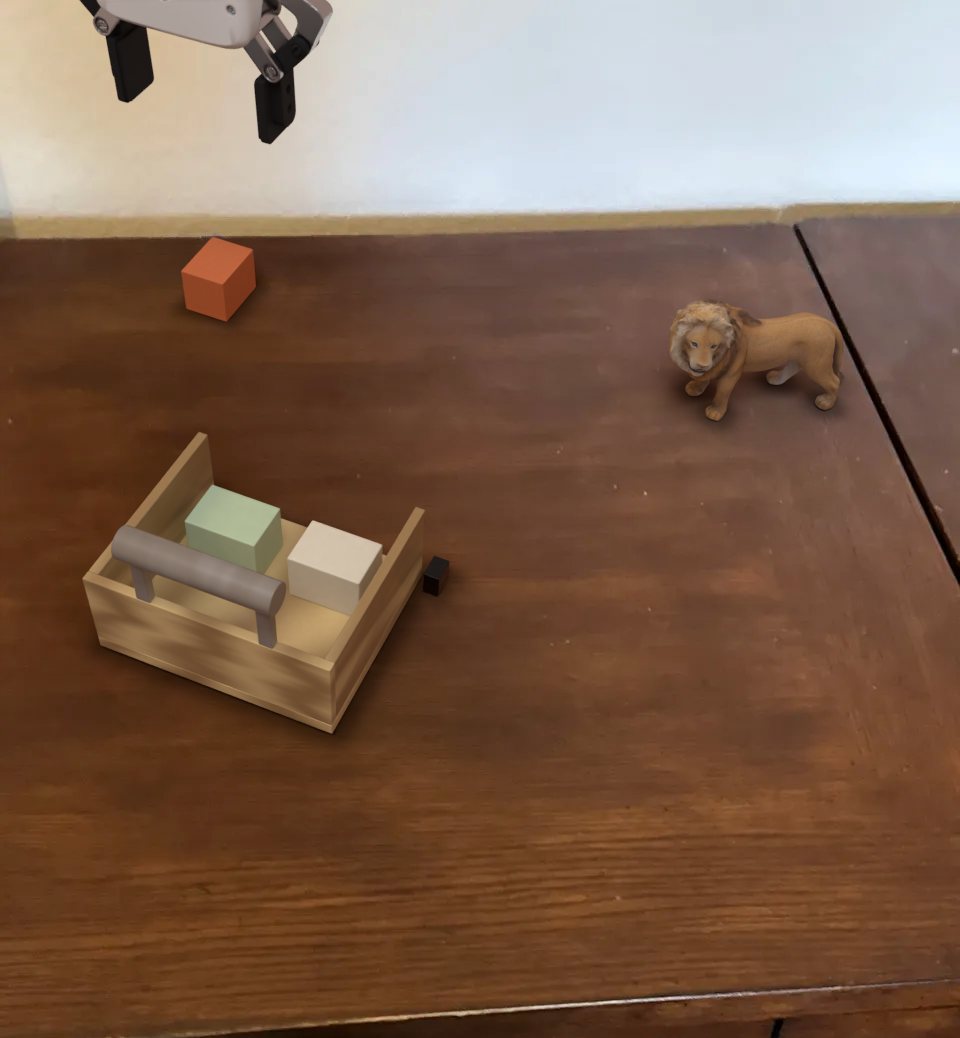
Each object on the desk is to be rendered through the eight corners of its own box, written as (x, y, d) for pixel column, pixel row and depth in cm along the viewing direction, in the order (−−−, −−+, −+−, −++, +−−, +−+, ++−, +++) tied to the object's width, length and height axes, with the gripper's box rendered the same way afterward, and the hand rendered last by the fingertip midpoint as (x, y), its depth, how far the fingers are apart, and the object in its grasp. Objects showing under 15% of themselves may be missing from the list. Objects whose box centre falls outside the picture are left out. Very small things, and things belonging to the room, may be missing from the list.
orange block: (226, 322, 87) (222, 284, 85) (185, 309, 88) (180, 270, 85) (256, 287, 90) (253, 249, 87) (216, 274, 91) (212, 236, 88)
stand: (182, 505, 77) (179, 487, 76) (195, 488, 78) (192, 470, 76) (437, 596, 74) (439, 579, 73) (448, 578, 75) (449, 560, 74)
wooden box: (94, 653, 69) (57, 523, 61) (208, 500, 77) (189, 366, 68) (327, 742, 67) (322, 620, 59) (421, 576, 74) (429, 447, 66)
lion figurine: (669, 446, 83) (697, 338, 76) (636, 393, 86) (660, 285, 79) (858, 405, 87) (903, 299, 80) (821, 356, 90) (860, 250, 83)
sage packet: (189, 558, 73) (183, 520, 70) (216, 521, 75) (211, 483, 72) (257, 583, 72) (254, 546, 70) (283, 545, 74) (280, 508, 72)
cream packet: (289, 594, 72) (286, 558, 69) (313, 556, 74) (312, 519, 71) (359, 620, 71) (359, 584, 69) (382, 580, 73) (383, 544, 70)
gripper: (-24, -217, 63) (49, 105, 76) (286, -141, 60) (304, 180, 73) (61, -263, 67) (116, 50, 81) (354, -195, 64) (359, 118, 78)
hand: (205, 112), depth 77 cm, fingers open, 9 cm apart
